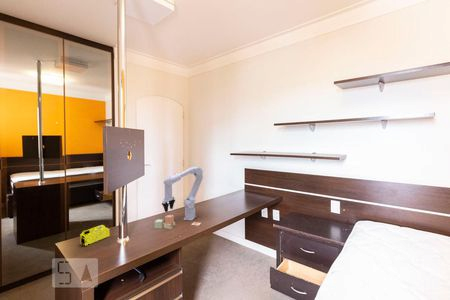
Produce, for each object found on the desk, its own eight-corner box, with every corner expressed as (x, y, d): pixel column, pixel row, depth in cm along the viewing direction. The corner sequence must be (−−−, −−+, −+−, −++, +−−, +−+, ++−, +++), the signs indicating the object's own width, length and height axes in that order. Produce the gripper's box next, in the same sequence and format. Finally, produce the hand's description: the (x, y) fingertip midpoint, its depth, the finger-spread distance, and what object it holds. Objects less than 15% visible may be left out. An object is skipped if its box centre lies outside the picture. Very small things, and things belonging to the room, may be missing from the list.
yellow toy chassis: (104, 235, 152) (104, 223, 152) (109, 237, 149) (109, 225, 149) (80, 245, 138) (79, 232, 138) (85, 247, 135) (84, 234, 135)
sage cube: (157, 225, 168) (157, 219, 168) (163, 225, 168) (163, 219, 167) (154, 228, 163) (154, 221, 163) (161, 228, 163) (161, 221, 162)
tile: (194, 222, 173) (193, 221, 173) (201, 223, 171) (201, 222, 171) (191, 224, 168) (191, 224, 168) (198, 225, 167) (198, 224, 167)
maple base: (168, 225, 169) (168, 220, 169) (175, 226, 167) (175, 221, 167) (163, 228, 164) (163, 223, 163) (170, 229, 161) (170, 224, 161)
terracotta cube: (168, 221, 168) (167, 214, 168) (174, 221, 167) (173, 215, 167) (164, 223, 163) (164, 217, 163) (170, 224, 162) (170, 217, 162)
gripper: (168, 191, 181) (169, 207, 182) (158, 195, 167) (159, 212, 168) (176, 191, 179) (176, 207, 180) (167, 195, 165) (167, 213, 166)
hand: (168, 210), depth 174 cm, fingers open, 7 cm apart
